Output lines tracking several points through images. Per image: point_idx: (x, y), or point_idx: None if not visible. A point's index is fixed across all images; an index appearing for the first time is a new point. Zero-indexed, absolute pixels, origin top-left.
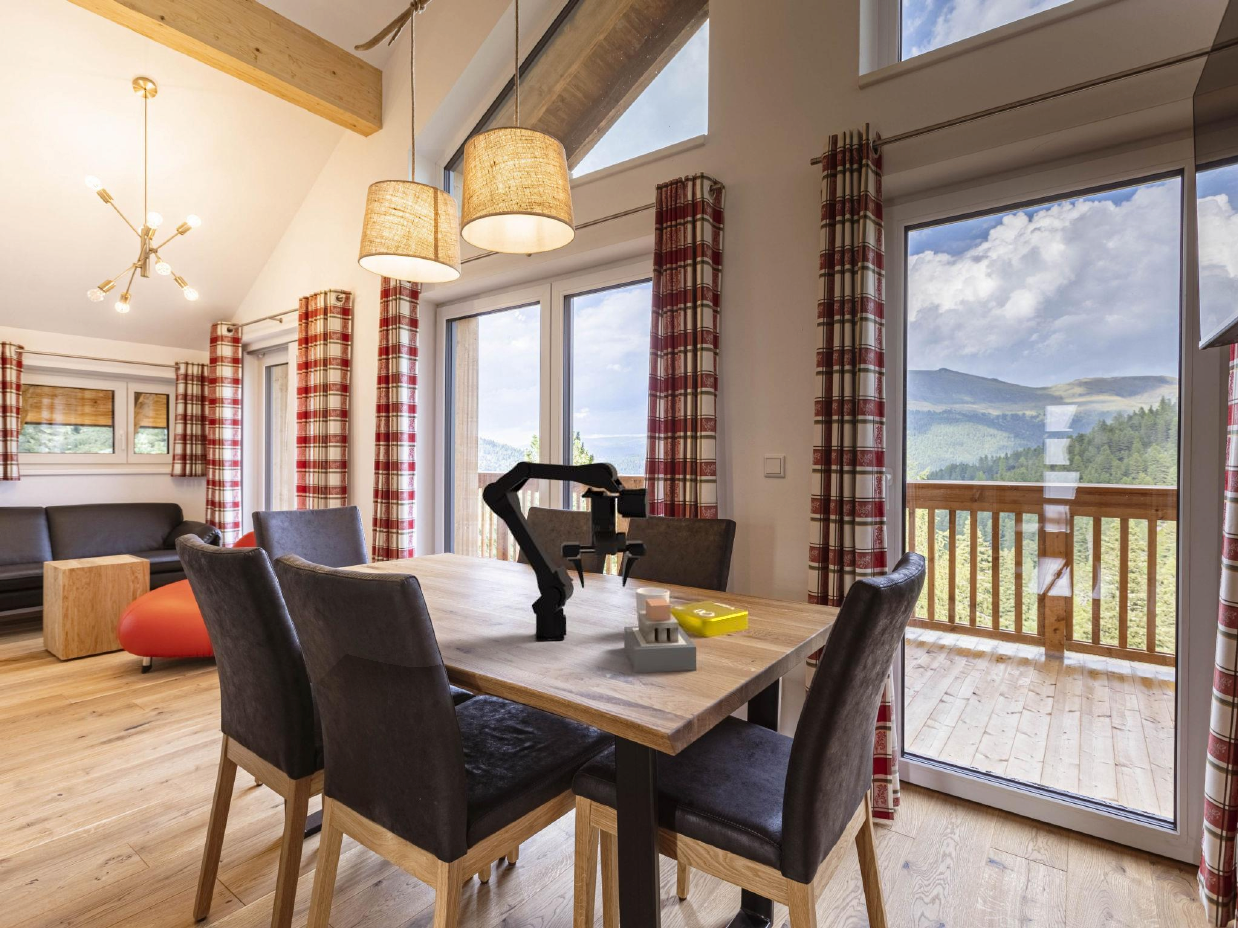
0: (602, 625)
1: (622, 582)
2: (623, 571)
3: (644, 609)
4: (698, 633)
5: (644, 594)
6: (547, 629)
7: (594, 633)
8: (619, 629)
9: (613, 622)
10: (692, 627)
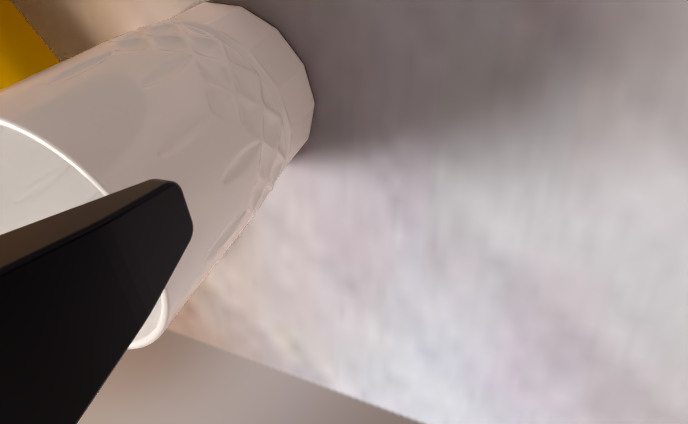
0: (520, 301)
1: (165, 259)
2: (30, 386)
3: (165, 92)
4: (14, 16)
5: (69, 152)
6: None
7: (611, 163)
8: (425, 204)
9: (447, 327)
10: (30, 66)
